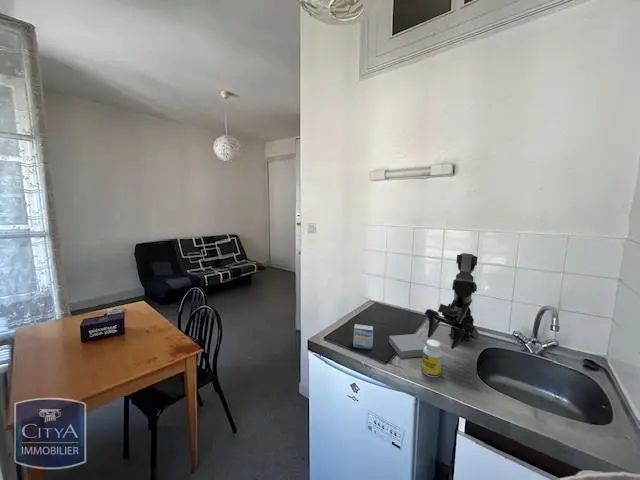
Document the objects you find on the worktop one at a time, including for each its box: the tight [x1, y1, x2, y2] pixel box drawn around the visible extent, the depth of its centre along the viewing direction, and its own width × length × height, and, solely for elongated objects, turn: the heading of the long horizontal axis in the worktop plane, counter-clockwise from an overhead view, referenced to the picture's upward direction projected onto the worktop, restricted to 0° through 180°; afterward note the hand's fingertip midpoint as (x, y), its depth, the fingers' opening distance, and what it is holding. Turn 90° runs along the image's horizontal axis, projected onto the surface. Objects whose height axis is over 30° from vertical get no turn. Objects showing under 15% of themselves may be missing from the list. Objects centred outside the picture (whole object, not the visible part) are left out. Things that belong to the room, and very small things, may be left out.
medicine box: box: [352, 323, 374, 350], centre depth 118 cm, size 8×4×9 cm, turn 76°
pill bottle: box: [421, 339, 444, 378], centre depth 100 cm, size 6×6×12 cm
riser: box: [388, 333, 426, 359], centre depth 116 cm, size 12×12×3 cm
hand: (439, 342), depth 101 cm, fingers open, 9 cm apart
